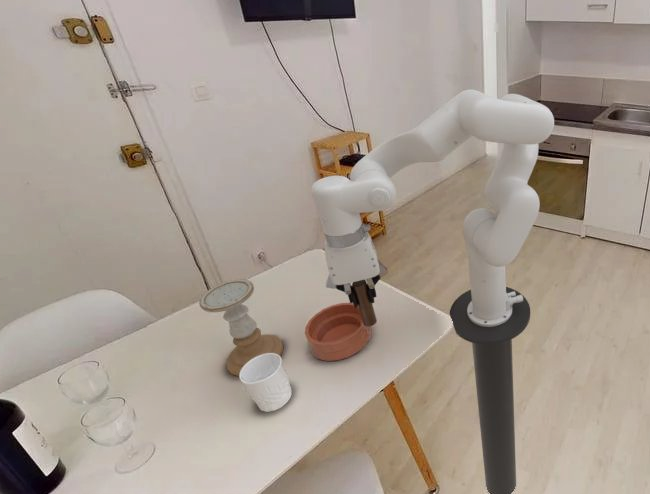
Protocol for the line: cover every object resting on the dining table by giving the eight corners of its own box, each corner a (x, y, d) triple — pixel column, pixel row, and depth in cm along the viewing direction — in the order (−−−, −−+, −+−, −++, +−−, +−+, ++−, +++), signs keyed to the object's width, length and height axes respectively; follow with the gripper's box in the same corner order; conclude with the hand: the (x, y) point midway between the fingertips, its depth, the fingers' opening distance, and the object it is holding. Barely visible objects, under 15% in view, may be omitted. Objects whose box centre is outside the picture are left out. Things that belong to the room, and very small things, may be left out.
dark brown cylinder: (376, 316, 99) (365, 277, 93) (377, 324, 96) (366, 285, 90) (363, 319, 98) (351, 280, 92) (364, 328, 95) (352, 288, 89)
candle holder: (260, 380, 94) (228, 315, 84) (215, 372, 97) (179, 308, 87) (294, 341, 105) (270, 279, 95) (253, 334, 107) (225, 273, 97)
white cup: (257, 390, 92) (241, 360, 87) (295, 378, 95) (282, 348, 90) (253, 420, 86) (236, 389, 81) (294, 406, 88) (280, 375, 83)
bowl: (369, 313, 113) (365, 297, 110) (373, 352, 101) (368, 334, 98) (313, 328, 109) (307, 311, 106) (309, 369, 97) (302, 352, 94)
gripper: (383, 218, 90) (398, 283, 99) (304, 234, 85) (327, 300, 95) (387, 234, 84) (402, 302, 93) (301, 252, 79) (326, 322, 88)
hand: (364, 300), depth 94 cm, fingers closed on dark brown cylinder, 3 cm apart
